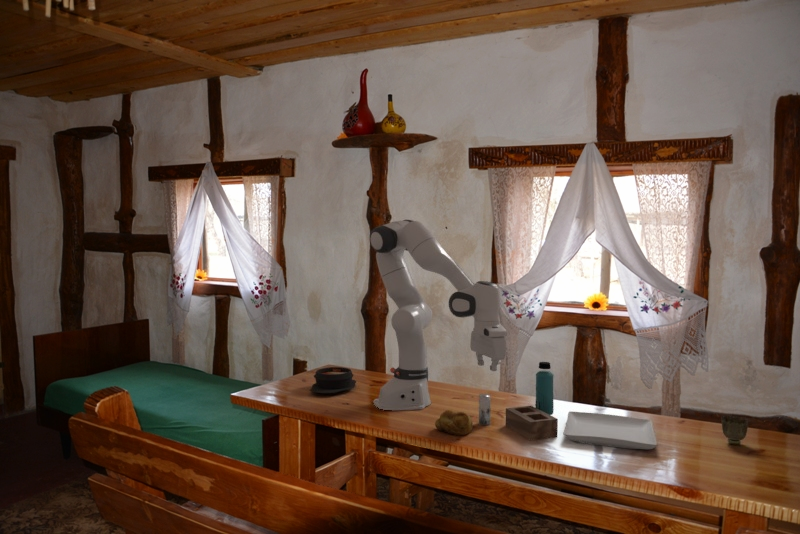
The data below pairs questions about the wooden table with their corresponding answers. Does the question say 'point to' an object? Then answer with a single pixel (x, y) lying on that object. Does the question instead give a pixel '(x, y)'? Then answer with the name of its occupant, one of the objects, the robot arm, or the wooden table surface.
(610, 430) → the square plate
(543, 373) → the beverage bottle
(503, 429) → the wooden table surface
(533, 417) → the socket block
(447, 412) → the bread roll
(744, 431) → the cup
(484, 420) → the steel pin
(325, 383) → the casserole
